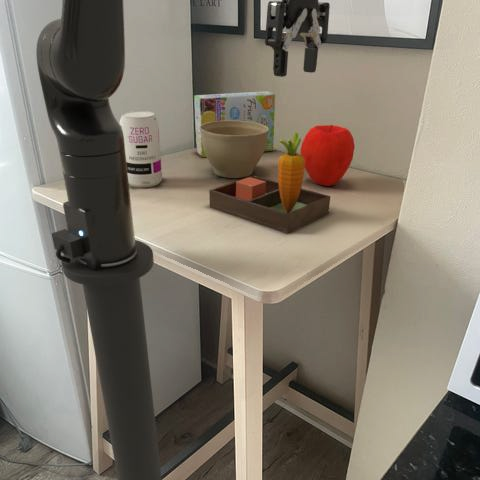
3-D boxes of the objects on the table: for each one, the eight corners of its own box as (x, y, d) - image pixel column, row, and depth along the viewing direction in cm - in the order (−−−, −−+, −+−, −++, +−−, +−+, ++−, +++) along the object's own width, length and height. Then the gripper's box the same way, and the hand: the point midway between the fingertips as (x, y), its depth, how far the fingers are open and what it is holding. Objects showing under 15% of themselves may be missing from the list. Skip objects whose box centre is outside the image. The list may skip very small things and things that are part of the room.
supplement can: (150, 175, 120) (144, 109, 112) (169, 183, 115) (164, 114, 107) (120, 181, 116) (111, 113, 107) (138, 190, 110) (131, 119, 102)
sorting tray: (287, 233, 92) (288, 215, 90) (209, 207, 103) (209, 190, 101) (328, 213, 101) (330, 196, 99) (253, 191, 111) (253, 175, 109)
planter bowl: (245, 187, 113) (246, 138, 107) (188, 175, 120) (186, 128, 114) (278, 170, 125) (280, 125, 119) (224, 160, 132) (224, 117, 126)
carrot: (287, 219, 95) (293, 138, 87) (270, 211, 99) (274, 133, 90) (306, 213, 98) (313, 134, 90) (288, 206, 101) (293, 129, 93)
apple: (293, 189, 113) (298, 127, 105) (303, 174, 122) (308, 117, 115) (345, 195, 110) (354, 132, 103) (351, 179, 119) (360, 121, 112)
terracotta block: (251, 205, 101) (252, 186, 99) (235, 200, 104) (235, 181, 102) (265, 200, 104) (266, 181, 102) (249, 195, 107) (249, 176, 104)
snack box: (265, 146, 145) (267, 90, 136) (273, 151, 140) (276, 93, 132) (195, 152, 138) (193, 93, 130) (201, 158, 134) (200, 97, 125)
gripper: (309, -40, 83) (301, 69, 91) (255, -46, 73) (251, 75, 82) (349, -41, 78) (336, 73, 87) (296, -48, 69) (287, 80, 78)
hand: (295, 74), depth 85 cm, fingers open, 8 cm apart
